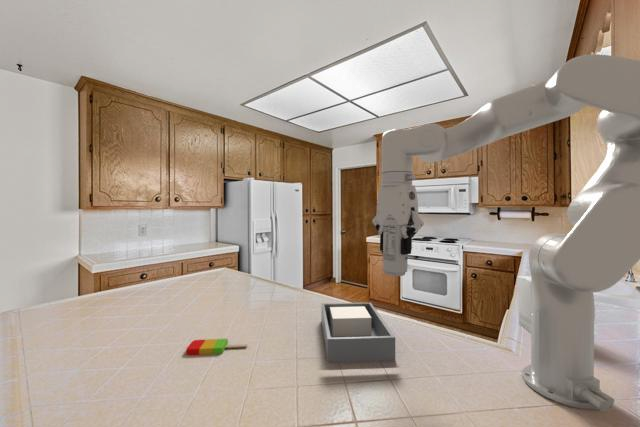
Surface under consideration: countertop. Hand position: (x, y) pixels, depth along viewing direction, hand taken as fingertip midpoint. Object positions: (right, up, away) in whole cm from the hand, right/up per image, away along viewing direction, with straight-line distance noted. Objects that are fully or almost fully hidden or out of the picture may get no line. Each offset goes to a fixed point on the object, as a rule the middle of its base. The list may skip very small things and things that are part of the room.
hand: (395, 251), depth 68 cm
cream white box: (-10, -25, +12) cm, 30 cm away
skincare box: (+47, -26, +14) cm, 55 cm away
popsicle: (-46, -27, +3) cm, 53 cm away
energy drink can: (0, -6, 0) cm, 6 cm away
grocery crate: (-10, -26, +7) cm, 29 cm away
